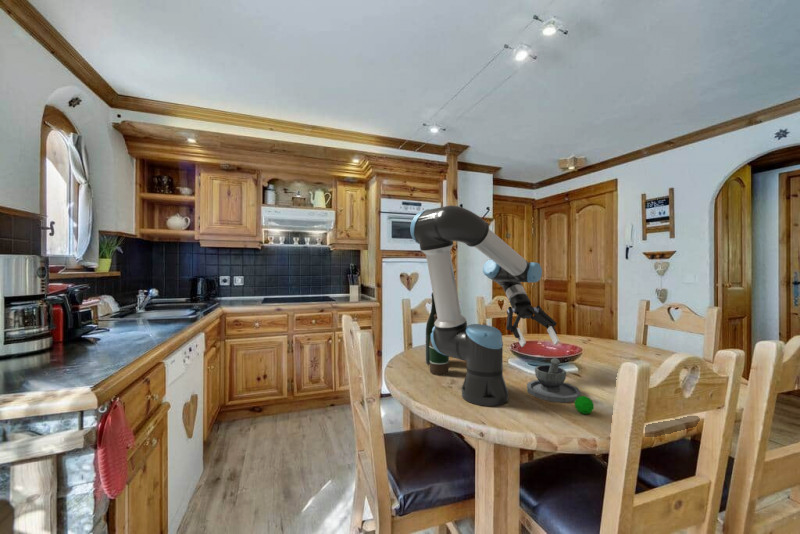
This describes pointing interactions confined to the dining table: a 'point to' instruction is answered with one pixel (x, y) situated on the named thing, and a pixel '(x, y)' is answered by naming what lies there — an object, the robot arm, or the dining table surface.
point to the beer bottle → (438, 360)
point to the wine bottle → (429, 330)
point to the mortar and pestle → (550, 376)
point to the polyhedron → (584, 404)
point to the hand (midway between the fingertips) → (540, 344)
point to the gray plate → (564, 395)
